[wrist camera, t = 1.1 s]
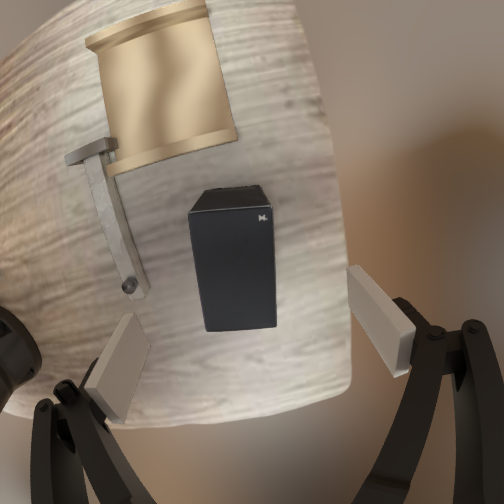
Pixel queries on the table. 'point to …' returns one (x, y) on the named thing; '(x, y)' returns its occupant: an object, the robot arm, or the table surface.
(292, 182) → the table surface
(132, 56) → the cradle
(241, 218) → the small box
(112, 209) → the lock bolt
